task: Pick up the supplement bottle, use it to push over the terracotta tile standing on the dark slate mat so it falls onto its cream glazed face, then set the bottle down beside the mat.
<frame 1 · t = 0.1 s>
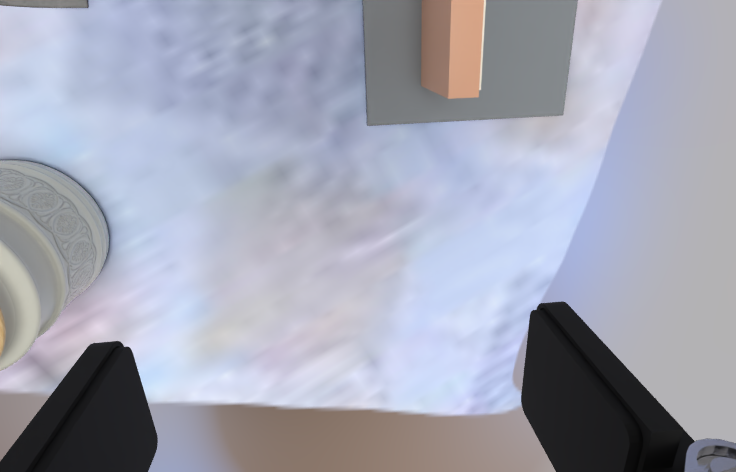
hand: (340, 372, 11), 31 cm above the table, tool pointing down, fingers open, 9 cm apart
jar: (36, 228, 41), on the table
slate mat: (469, 10, 37), on the table
tile: (434, 25, 36), point 1 cm above the table, touching slate mat
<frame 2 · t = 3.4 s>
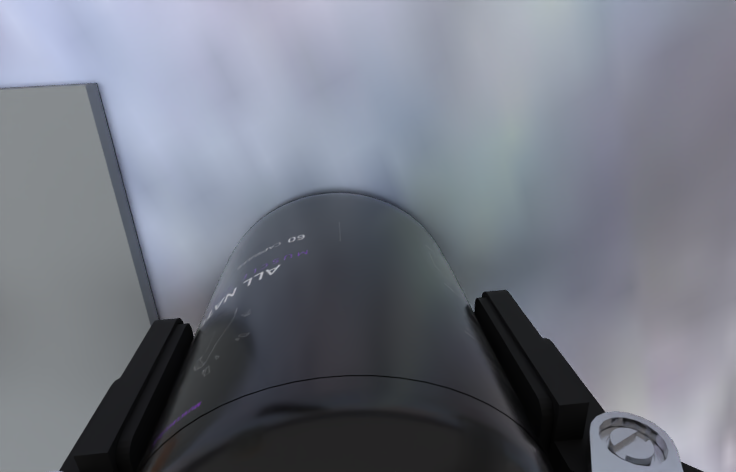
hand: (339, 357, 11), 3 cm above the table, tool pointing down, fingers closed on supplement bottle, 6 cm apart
supplement bottle: (336, 289, 15), on the table, touching gripper
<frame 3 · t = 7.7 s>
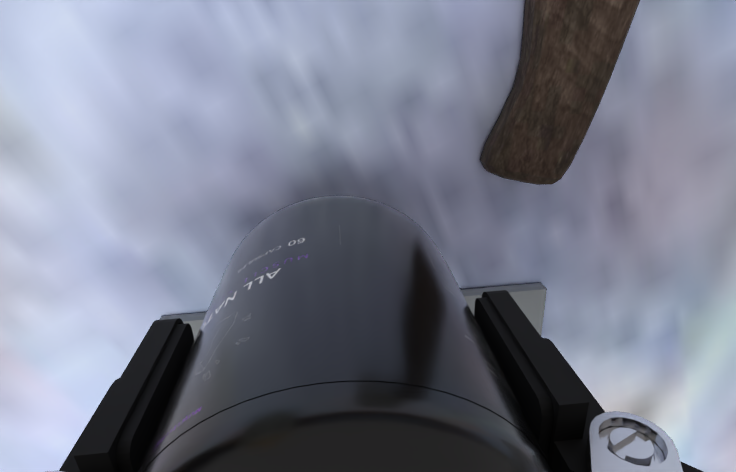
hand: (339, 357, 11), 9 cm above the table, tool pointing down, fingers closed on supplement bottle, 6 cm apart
supplement bottle: (336, 291, 15), point 5 cm above the table, touching gripper
slate mat: (365, 440, 24), on the table
when the fingers open (4 cm above the table, at t = 16.2 s): supplement bottle drops 1 cm, on the table.
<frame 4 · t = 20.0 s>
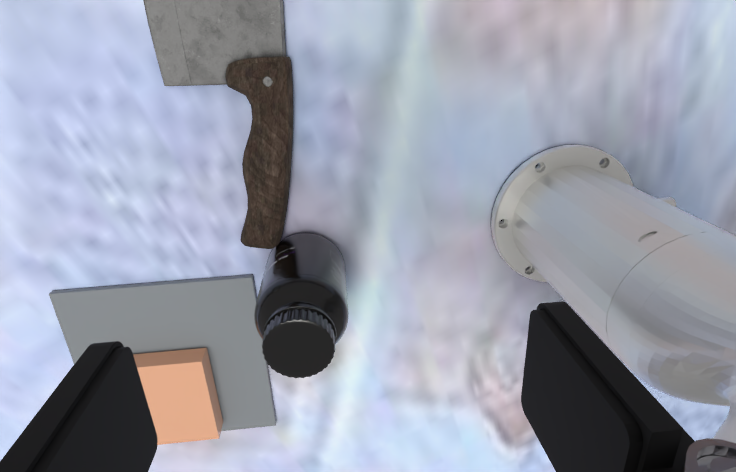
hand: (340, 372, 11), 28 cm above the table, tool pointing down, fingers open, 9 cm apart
cleaver: (230, 59, 35), on the table
supplement bottle: (306, 265, 41), on the table
slate mat: (174, 361, 44), on the table
tile: (152, 359, 41), point 2 cm above the table, tilted 90°, touching slate mat
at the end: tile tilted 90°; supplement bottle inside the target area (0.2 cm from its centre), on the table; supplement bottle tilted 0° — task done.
